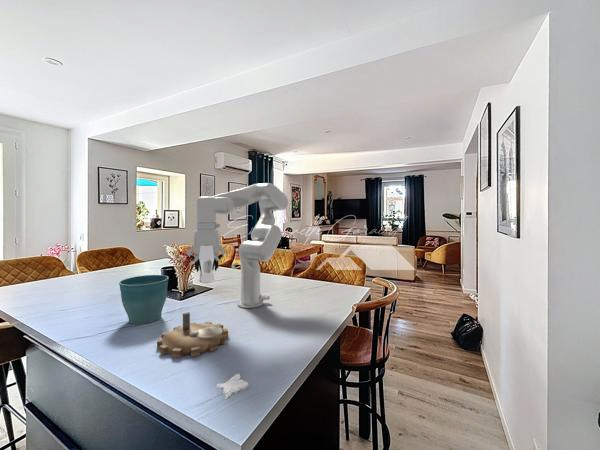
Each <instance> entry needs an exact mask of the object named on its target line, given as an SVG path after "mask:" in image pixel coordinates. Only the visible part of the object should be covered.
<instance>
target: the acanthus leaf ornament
mask: <svg viewBox="0 0 600 450" xmlns="http://www.w3.org/2000/svg"><path fill="white" fill-rule="evenodd" d="M239 379H240V380H239ZM222 384H223V385H222ZM221 385H222V386H221ZM216 386H217V387H219V386H221V387H222V388H224V389H223V391H222V394H225V395H224V400H225V399H227V398H228V397H229V396H230V397H232V395H233V393H234V392H238V393H239V391H244V390H243V389H245V390H247V389H248V388H249V383H248V381H246V380H244V379H241V375H240V373H239V372H238V373H235V374H234V375H233V376H232V377H231V378H229V379H228V380H227V381H226V382H224V383H217V384H216ZM217 387H216V388H217ZM222 388H221V389H222ZM246 388H247V389H246ZM239 389H240V390H239ZM232 391H234V392H232ZM231 394H232V395H231ZM225 396H226V397H225ZM230 397H229V398H230ZM229 398H228V399H229ZM228 399H227V400H228Z"/></svg>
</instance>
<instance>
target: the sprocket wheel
mask: <svg viewBox="0 0 600 450" xmlns="http://www.w3.org/2000/svg"><path fill="white" fill-rule="evenodd" d="M228 337H229V329H228V328H227V327H226V328H224V325H223V324H221V323H217V324H214V323H212V321H205V322H204V323H197V322H191V314H190V312H187V311H186V312H182V325H177V326H175V327H173V329H172V330H170V331H164V332H163V333H161V337H160V338H157V339H156V348H157V349H158V350H159V351H158V352H159V354H161V355H166V354H171V357H172V358H181V357H182V356H189V355H190V356H191V357H196V356H201V353H205V352H207V351H209V352H213V351H217V350H218V348H219V347H218V346H219V345H222V344H223V345H224V344H226V343H227V341H228Z"/></svg>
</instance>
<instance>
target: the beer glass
mask: <svg viewBox="0 0 600 450" xmlns="http://www.w3.org/2000/svg"><path fill="white" fill-rule="evenodd" d="M198 263H199V278H198V282H199V283H202V284H209V283H213V282H215V276H214V275H215V274H214V272H215V254H214V252H213V247H212V245H209V246H200V251H199V255H198Z"/></svg>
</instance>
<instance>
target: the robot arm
mask: <svg viewBox="0 0 600 450" xmlns="http://www.w3.org/2000/svg"><path fill="white" fill-rule="evenodd" d="M257 202H258V206H259V212H260V216H259V219H258V220H257V222H256V224H255V225H254V227H253V229H252V230H251V233H250V238H251V240H245V241H243V242H242V243H240V245H238V256H239V261H240V263H239V264H240V300H238V301H237V306H238V307H240V308H243V309H252V308H258V307H261V306H263V305H264V300H266V301H269V300H270V295H266V294H265V295H262V294H261V268H260V267H261V265H260V263H259V262H264V263H265V262H268V261H270V260H271V258H272V257H273V256H274V254H275V251H276V250H277V247H278V245H279V243H281V242H280V241H281V239H282V230H281V228H280V227H279V226H278V225H275V224H276V219H275V218H276V217H275V215H274V214H273V211H285V210H286V209H287V208H288V206H289V199H288V197H287V195H286V194H285V193H284V192H283V191H282V190H281V189H280V188H278V186H276V185H274V184H273V183H271V182H262V183H253V184H251V185H248V186H245V187H242V188H239V189H235V190H231V191H228V192H224V193H219V194H216V195H213V196H199V197H198V196H197V198H196V230H194V233H193V234H194V235H193V243H192V244H193V245H192V246H191V247H190V248H189V249H188V250H187V251H186V252H185V253H186V254H185V255H187V256H188V257H189V258H190V259H191V260H192V261H193V262H194V270H196V272H197V273H198V272H200V268H199V263H198V255H199V251H200V246H209V245H212V247H213V252H214V254H215V265H214V272H216V271H217V269H219V261H220V260H221V259H222V258H223V257H224V255H226V254H227V250H226V249H225V248H224V247H223V246H222V245H221V244H220V234H219V230H218V229H217V228H220V227H221V225H220V224H219V223H217V215H219V216H220V215H221V216H226V215H227V216H228V215H230V214H232V213H233V212H234V210H235V209H236V208H243V207H247V206H249V205H252V204H254V203H257ZM220 251H221V253H220ZM192 252H193V254H194V255H193V254H192Z"/></svg>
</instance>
